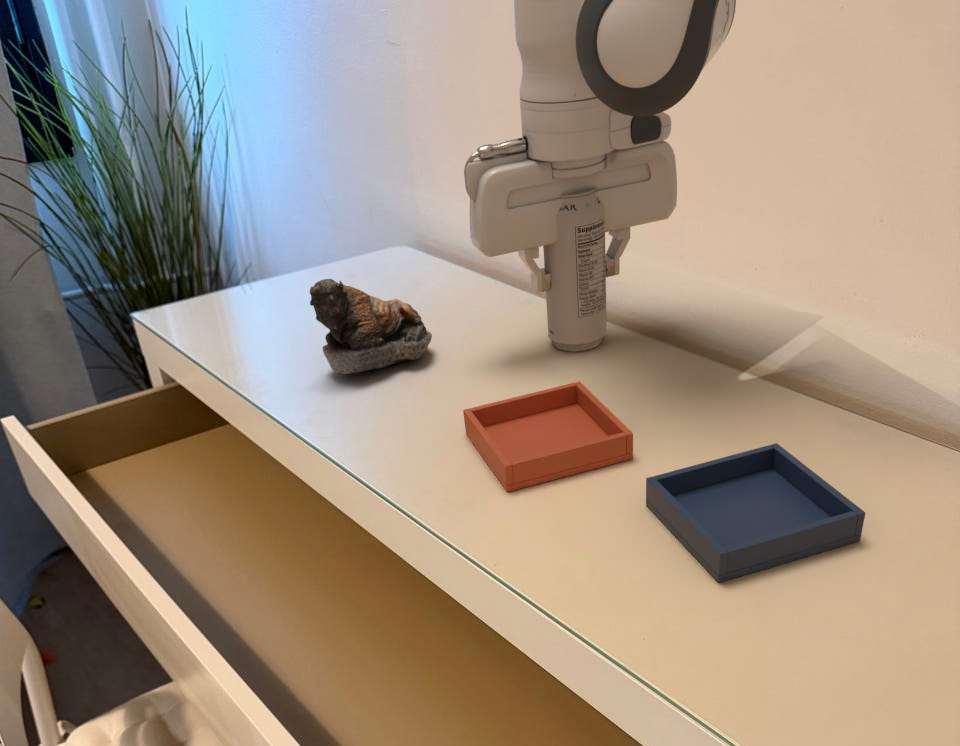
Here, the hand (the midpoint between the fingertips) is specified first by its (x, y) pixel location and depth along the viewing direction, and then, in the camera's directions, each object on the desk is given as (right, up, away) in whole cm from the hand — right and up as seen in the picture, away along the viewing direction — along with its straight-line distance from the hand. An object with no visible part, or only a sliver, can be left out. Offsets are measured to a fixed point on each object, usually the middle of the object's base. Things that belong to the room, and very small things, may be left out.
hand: (576, 282), depth 93 cm
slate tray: (+10, -27, -24) cm, 38 cm away
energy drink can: (+1, -5, +4) cm, 6 cm away
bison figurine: (-20, -7, +4) cm, 22 cm away
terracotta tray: (-4, -19, -12) cm, 23 cm away
